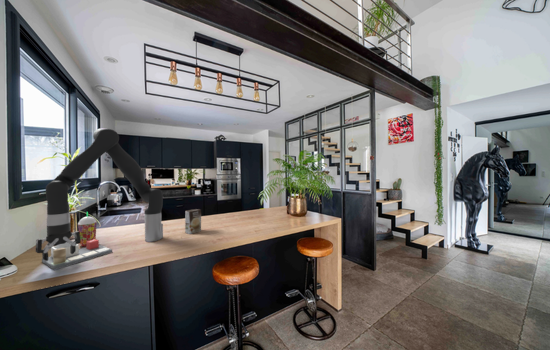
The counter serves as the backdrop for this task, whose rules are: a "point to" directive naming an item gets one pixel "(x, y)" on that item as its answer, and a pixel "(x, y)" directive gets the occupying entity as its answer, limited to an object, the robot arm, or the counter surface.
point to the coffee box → (192, 221)
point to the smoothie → (87, 229)
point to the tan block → (59, 255)
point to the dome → (63, 245)
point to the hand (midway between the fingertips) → (59, 256)
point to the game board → (79, 254)
